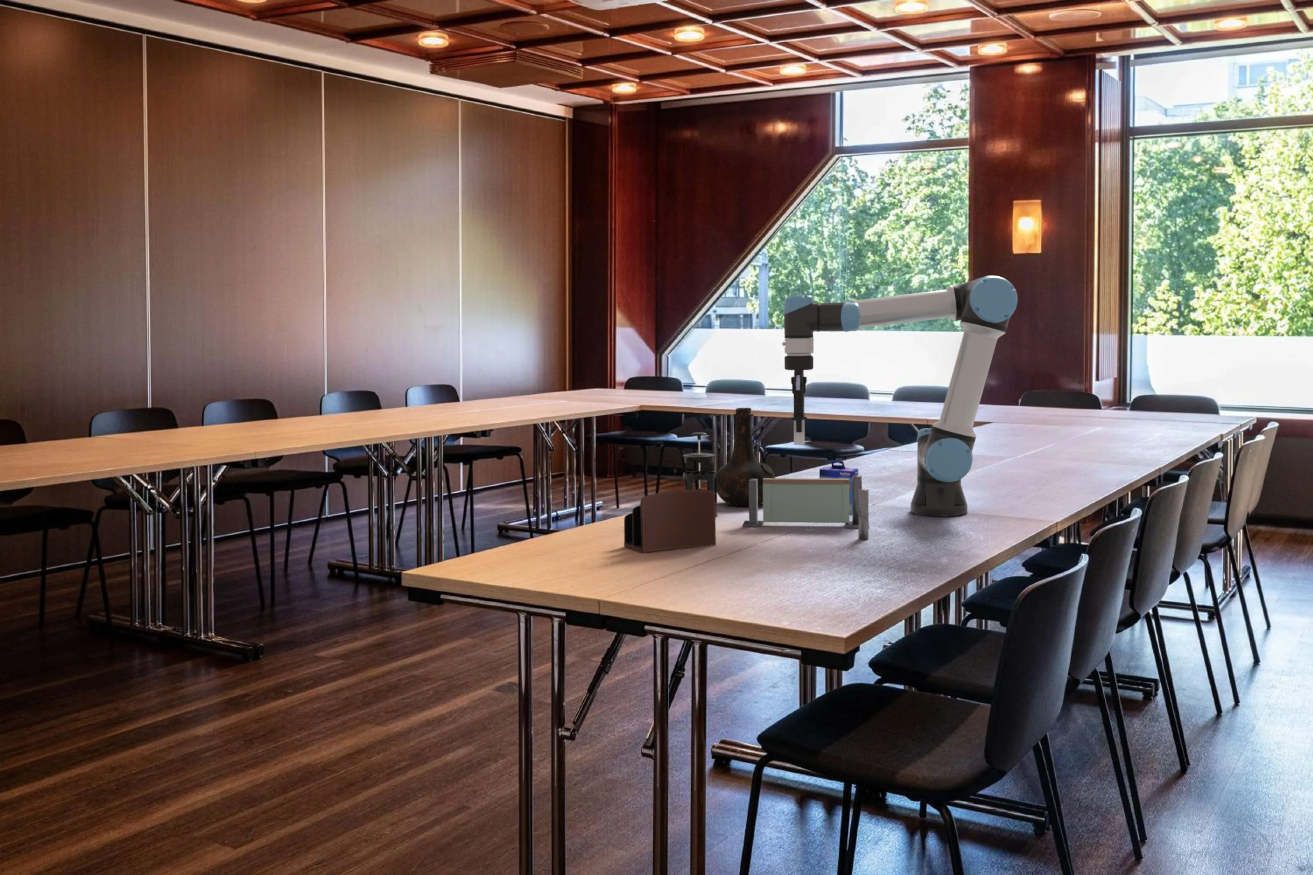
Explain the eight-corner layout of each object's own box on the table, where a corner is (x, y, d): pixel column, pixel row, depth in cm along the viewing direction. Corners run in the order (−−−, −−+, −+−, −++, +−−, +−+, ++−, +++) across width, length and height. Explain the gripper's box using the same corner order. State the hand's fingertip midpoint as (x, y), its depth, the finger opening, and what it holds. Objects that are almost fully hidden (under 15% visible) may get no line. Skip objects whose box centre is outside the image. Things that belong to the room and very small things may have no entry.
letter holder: (716, 545, 295) (716, 487, 294) (642, 554, 286) (641, 493, 285) (696, 539, 304) (695, 482, 303) (623, 547, 295) (622, 488, 294)
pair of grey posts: (868, 524, 320) (868, 474, 319) (869, 539, 298) (869, 486, 297) (744, 523, 325) (744, 474, 324) (736, 538, 303) (736, 485, 302)
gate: (849, 521, 319) (849, 478, 318) (849, 523, 317) (849, 479, 316) (763, 520, 322) (763, 478, 321) (763, 522, 321) (762, 479, 319)
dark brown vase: (760, 510, 346) (759, 410, 343) (703, 506, 355) (702, 409, 352) (786, 501, 362) (785, 406, 359) (731, 498, 370) (730, 405, 368)
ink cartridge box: (818, 512, 341) (818, 460, 339) (824, 509, 346) (824, 458, 344) (853, 514, 336) (853, 461, 335) (859, 511, 341) (859, 459, 340)
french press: (701, 520, 331) (699, 434, 329) (674, 517, 337) (673, 433, 335) (728, 514, 340) (727, 431, 337) (701, 511, 346) (700, 429, 344)
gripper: (785, 354, 331) (786, 442, 333) (782, 355, 318) (783, 447, 320) (814, 353, 330) (814, 442, 332) (812, 355, 317) (812, 447, 319)
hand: (799, 444), depth 326 cm, fingers closed
